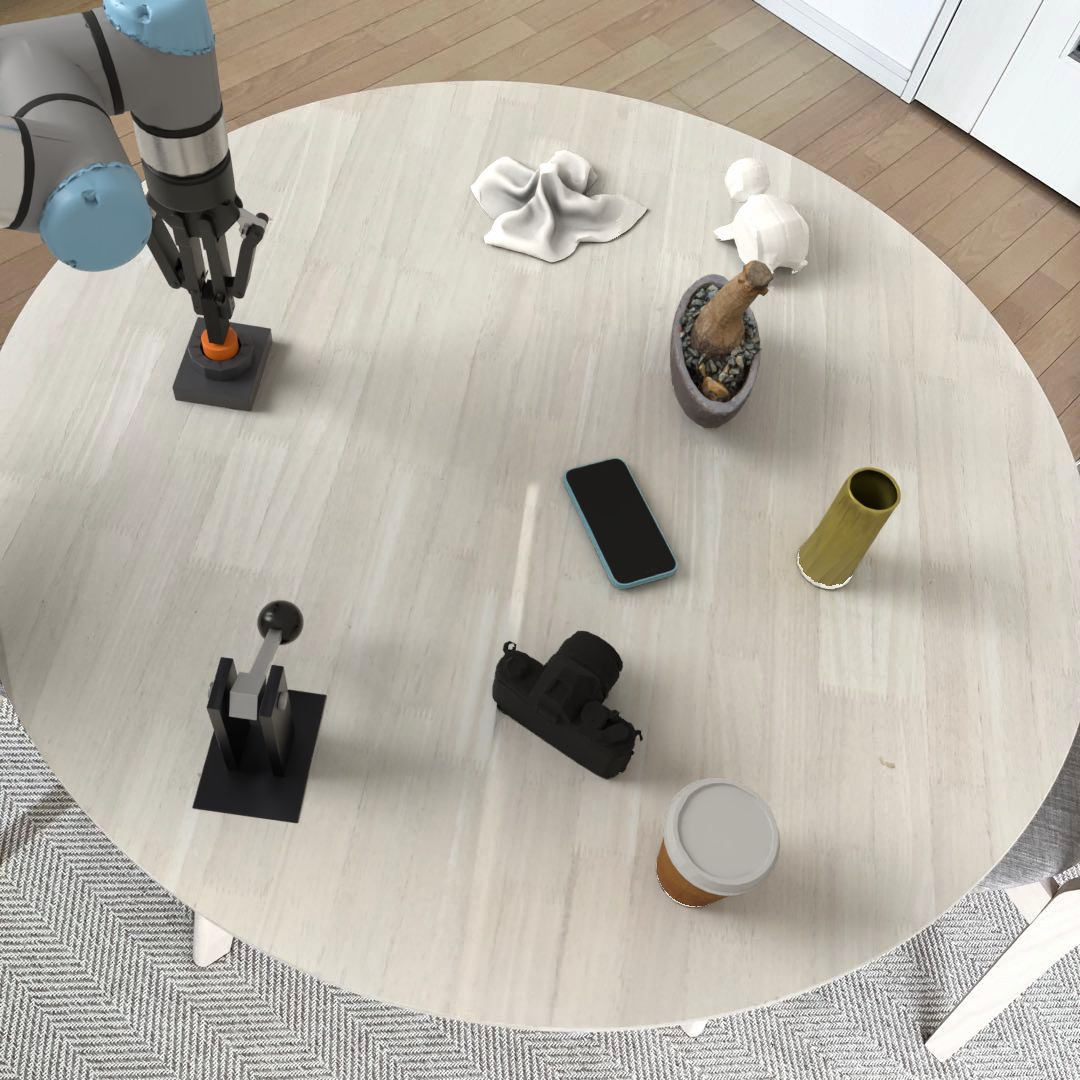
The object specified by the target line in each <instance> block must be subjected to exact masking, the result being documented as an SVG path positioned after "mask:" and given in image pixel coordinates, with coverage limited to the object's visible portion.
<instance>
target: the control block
mask: <svg viewBox="0 0 1080 1080" xmlns="http://www.w3.org/2000/svg"><path fill="white" fill-rule="evenodd" d="M229 323H230V327H231V328H232V329H233V330H234V331H235V332H236V335H237V340H238V346H239V348H238V352H237V354H236V355H235V356H234V357H232V358H231V359H229V360H226V361H215V360H212V359H210V358H209V357H207V356H206V355H205V353H204V350H203V345H202V340H201V336H202V334H203V332H204V331H205V330H206V325H205V320H204V316H203V317H201V316H197V317H196V320H195V323H194V326H193V329H192V331H191V334H190V337H189V340H188V343H187V345H186V348H185V350H184V353H183V356H182V359H181V362H180V365H179V368H178V370H177V373H176V377H175V378H174V381H173V383H172V387H171V388H172V391H173V397H174V400H175V401H178V402H179V401H180V402H184V403H190V404H191V403H192V404H198V405H205V406H212V407H215V408H216V407H218V408H223V409H231V410H236V411H242V412H248V413H251V412H252V409H253V407H254V404H255V400H256V397H257V394H258V390H259V387H260V383H261V380H262V377H263V374H264V371H265V367H266V364H267V362H268V358H269V355H270V352H271V351H270V350H271V348H272V345H273V334H272V329H271V327H265V326H259V325H258V326H257V325H251V324H245V323H239V322H232V321H229Z"/></svg>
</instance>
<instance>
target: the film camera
mask: <svg viewBox="0 0 1080 1080" xmlns="http://www.w3.org/2000/svg"><path fill="white" fill-rule="evenodd" d="M510 645H513V646H512V648H511V649H510V648H509V647H510ZM517 645H518V644H517V643H515V642H514V641H511V640H508V641H505V642H504V643H503V646H502V651H503V653H504V654H503V656H502V657H501V658H500V659H499V660H498V662H497V664H496V666H495V672H494V679H493V683H492V688H491V689H492V690H491V698H492V699H493V701H494V702H495V703H496V708H497V709H498V711H500V712H501V713H502V714H504V715H506V716H508V717H509V718H511V719H512V720H513V721H514V722H516V723H518V724H519V725H521V726H522V727H524V728H525V729H527V730H528V731H529V732H531V733H532V734H534V735H535V736H536V737H538V738H540V739H541V740H542V741H543V742H545V743H546V744H548V745H550V746H551V747H553V748H554V749H555V750H557V751H558V752H560V753H561V754H563V755H564V756H566V757H567V758H569V759H571V760H572V761H573V762H574V763H577V764H578V765H580V766H581V767H583V768H584V769H586V770H588V771H589V772H591V773H592V772H593V774H594V775H596V776H597V775H598V777H600V778H602V779H605V780H609V779H611V778H615V777H616V776H618V775H619V774H622V773H624V772H625V771H626V769H627V767H628V765H629V764H630V762H631V760H632V757H633V756H634V754H635V751H634V749H635V747H636V740H637V737H639V742H643V740H644V737H643V734H642V729H636V728H635V726H634V725H633V724H632V722H630V721H627V720H626V719H625V718H623V717H622V716H621V715H620V711H619V710H618V709H616V708H613V709H610V708H609V707H607V706H606V705H604V704H603V703H604V702H605V701H606V700H607V698H608V697H609V693H610V691H611V690H612V689H613V687H614V686H615V685H616V683H617V682H618V681H619V679H620V676H621V675H620V674H621V672H622V671H623V668H624V662H623V660H622V657H621V655H620V653H619V652H617V650H616V648H615V647H614V646H613V645H611V644H610V642H608V641H606V640H605V639H603V638H602V637H600V636H599V635H597V634H595V633H592V632H589V631H586V630H576V631H575V633H572V635H571V636H570V637H568V638H566V639H565V640H564V641H563V642H562V644H561V645H560V646H559V648H558V649H557V650H556V652H555V653H553V654H552V655H551V657H550V658H549V659H548V661H547V662H546V663H544V664H543V663H541V662H540V661H539V660H537V659H535V657H532V656H531V655H529V654H528V653H526V652H524V651H520V650H518V649H517Z"/></svg>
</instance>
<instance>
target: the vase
mask: <svg viewBox="0 0 1080 1080" xmlns="http://www.w3.org/2000/svg"><path fill="white" fill-rule="evenodd" d="M901 500H902V493H901V489H900V486H899V484H898V482H897V481H896V479H895V477H893V476H892V475H890V474H889V473H888V472H887V471H885V470H883V469H880V468H878V467H872V466H866V467H865V466H864V467H861V468H858V469H856V470H854V471H853V472H852V473H851V474H849V476H848V477H847V478H846V480H845V481H844V482H843V484H842V485H841V487H840V489H839V491H838V493H837V494H836V495H835V497H834V499H833V501H832V502H831V504H830V505H829V507H828V509H827V511H826V512H825V514H824V515H823V516H822V518H821V520H820V521H819V523H818V525H817V526H816V528H815V529H814V530H813V532H812V533H811V534H810V536H809V537H808V538H807V540H806V541H805V542H804V543H803V544H804V545H803V544H802V545H803V546H802V545H801V546H802V547H801V546H800V547H801V548H800V547H799V549H800V551H799V557H800V558H799V564H800V565H801V567H802V568H803V572H804V573H805V574H806V575H807V576H809V577H811V579H812V580H814V582H818V583H822V584H825V585H826V586H832V585H836V584H839V585H840V584H843V583H844V582H845V581H846V580H847V579H848V578H849V577H851V576H852V575H853V576H854V574H855V572H856V570H857V568H858V566H859V565H860V564H861V562H862V560H863V559H864V557H865V555H866V554H867V552H868V551H869V549H870V548H871V546H872V544H873V543H874V542H875V540H876V539H877V537H878V535H879V534H880V532H881V531H882V529H883V528H884V526H885V524H886V523H887V522H888V520H889V519H890V517H891V516H892V514H893V513H894V511H895V510H896V509H897V507H898V506H899V505H900V503H901Z"/></svg>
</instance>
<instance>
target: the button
mask: <svg viewBox="0 0 1080 1080" xmlns="http://www.w3.org/2000/svg"><path fill="white" fill-rule="evenodd" d="M201 340H202V345H203V350H204V353H205V355H206V356H207V357H209V358H210V359H212V360H215V361H226V360H229V359H231V358H232V357H234V356H235V355H236V354H237V352H238V348H239V346H238V340H237V335H236V332H235V331H234V330H233V329H232V328H231V327H229V330H228V333H227V336H226V339H225V342H224V345H219V344H213V343H209V340H208V335H207V330H205V331H204V332H203V334H202V336H201Z"/></svg>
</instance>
